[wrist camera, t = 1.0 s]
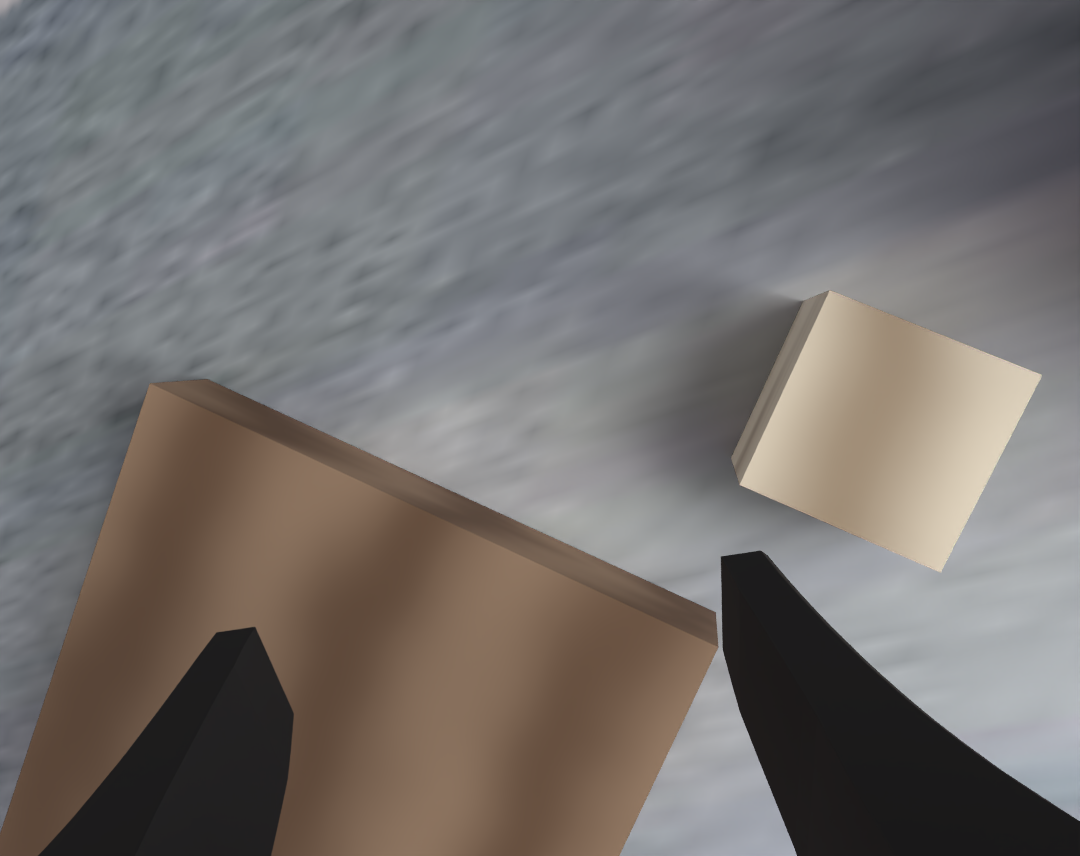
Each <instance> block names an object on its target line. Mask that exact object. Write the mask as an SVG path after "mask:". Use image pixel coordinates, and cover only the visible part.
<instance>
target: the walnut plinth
mask: <svg viewBox="0 0 1080 856" xmlns="http://www.w3.org/2000/svg"><path fill="white" fill-rule="evenodd" d="M249 627H256V630H257V632H258V634H259V636H260V638H261V641H262V643H263V645H264V647H265V650H266V652H267V654H268V656H269V659H270V661H271V663H272V665H273V668H274V670H275V672H276V674H277V677H278V679H279V681H280V683H281V686H282V688H283V690H284V692H285V695H286V697H287V699H288V701H289V704H290V706H291V708H292V710H293V713H294V719H293V732H292V744H291V755H290V764H289V773H288V781H287V786H286V790H285V795H284V800H283V804H282V809H281V814H280V818H279V823H278V827H277V832H276V837H275V841H274V845H273V850H272V854H271V856H619V855H620V853H621V851H622V849H623V846H624V844H625V842H626V840H627V838H628V836H629V834H630V832H631V830H632V828H633V825H634V823H635V821H636V819H637V817H638V815H639V813H640V811H641V809H642V807H643V804H644V802H645V800H646V798H647V796H648V794H649V792H650V790H651V788H652V786H653V783H654V781H655V779H656V777H657V775H658V773H659V771H660V769H661V767H662V765H663V762H664V760H665V758H666V756H667V754H668V752H669V750H670V748H671V746H672V743H673V741H674V739H675V737H676V735H677V733H678V731H679V729H680V727H681V725H682V722H683V720H684V718H685V716H686V714H687V712H688V710H689V708H690V706H691V704H692V701H693V699H694V697H695V695H696V693H697V691H698V689H699V687H700V685H701V683H702V680H703V678H704V676H705V674H706V672H707V670H708V668H709V666H710V664H711V662H712V659H713V657H714V655H715V653H716V651H717V649H718V637H717V624H716V612H713V611H711V610H709V609H707V608H705V607H703V606H700V605H698V604H696V603H694V602H692V601H689V600H687V599H685V598H683V597H681V596H679V595H676V594H674V593H672V592H670V591H668V590H666V589H663V588H661V587H659V586H657V585H655V584H652V583H650V582H648V581H646V580H644V579H642V578H639V577H637V576H635V575H633V574H631V573H628V572H626V571H624V570H622V569H620V568H618V567H615V566H613V565H611V564H609V563H607V562H604V561H602V560H600V559H598V558H596V557H594V556H591V555H589V554H587V553H585V552H583V551H580V550H578V549H576V548H574V547H572V546H570V545H567V544H565V543H563V542H561V541H559V540H557V539H554V538H552V537H550V536H548V535H546V534H543V533H541V532H539V531H537V530H535V529H533V528H530V527H528V526H526V525H524V524H522V523H519V522H517V521H515V520H513V519H511V518H509V517H506V516H504V515H502V514H500V513H498V512H495V511H493V510H491V509H489V508H487V507H485V506H482V505H480V504H478V503H476V502H474V501H472V500H469V499H467V498H465V497H463V496H461V495H458V494H456V493H454V492H452V491H450V490H448V489H445V488H443V487H441V486H439V485H437V484H434V483H432V482H430V481H428V480H426V479H424V478H421V477H419V476H417V475H415V474H413V473H410V472H408V471H406V470H404V469H402V468H400V467H397V466H395V465H393V464H391V463H389V462H387V461H384V460H382V459H380V458H378V457H376V456H373V455H371V454H369V453H367V452H365V451H363V450H360V449H358V448H356V447H354V446H352V445H349V444H347V443H345V442H343V441H341V440H339V439H336V438H334V437H332V436H330V435H328V434H325V433H323V432H321V431H319V430H317V429H315V428H312V427H310V426H308V425H306V424H304V423H302V422H299V421H297V420H295V419H293V418H291V417H288V416H286V415H284V414H282V413H280V412H278V411H275V410H273V409H271V408H269V407H267V406H264V405H262V404H260V403H258V402H256V401H254V400H251V399H249V398H247V397H245V396H243V395H240V394H238V393H236V392H234V391H232V390H230V389H227V388H225V387H223V386H221V385H219V384H217V383H214V382H212V381H210V380H208V379H204V380H190V381H176V382H162V383H150V384H149V387H148V390H147V393H146V396H145V399H144V402H143V405H142V408H141V411H140V414H139V417H138V420H137V423H136V427H135V430H134V433H133V436H132V439H131V442H130V445H129V448H128V451H127V454H126V457H125V460H124V463H123V466H122V469H121V472H120V475H119V478H118V481H117V484H116V487H115V490H114V493H113V496H112V499H111V502H110V505H109V508H108V511H107V514H106V517H105V520H104V523H103V526H102V529H101V532H100V535H99V538H98V541H97V544H96V547H95V550H94V553H93V556H92V559H91V562H90V565H89V568H88V571H87V574H86V577H85V580H84V583H83V586H82V589H81V592H80V595H79V598H78V601H77V604H76V607H75V610H74V613H73V616H72V619H71V622H70V625H69V628H68V631H67V634H66V637H65V640H64V643H63V646H62V649H61V652H60V655H59V658H58V661H57V664H56V667H55V670H54V673H53V676H52V679H51V682H50V685H49V688H48V691H47V694H46V697H45V700H44V703H43V706H42V709H41V712H40V715H39V718H38V721H37V724H36V727H35V730H34V733H33V736H32V739H31V742H30V745H29V748H28V751H27V754H26V757H25V760H24V763H23V766H22V769H21V772H20V775H19V778H18V781H17V784H16V787H15V790H14V793H13V797H12V800H11V803H10V806H9V809H8V812H7V815H6V818H5V821H4V824H3V827H2V830H1V833H0V856H38V855H39V854H40V853H41V852H42V851H43V850H44V849H45V848H46V847H47V846H48V844H49V843H50V842H51V841H52V840H53V839H54V838H55V837H56V836H57V835H58V833H59V832H60V831H61V830H62V829H63V828H64V827H65V826H66V825H67V823H68V822H69V821H70V820H71V819H72V818H73V817H74V815H75V814H76V813H77V812H78V811H79V810H80V808H81V807H82V806H83V805H84V804H85V802H86V801H87V800H88V799H89V798H90V796H91V795H92V794H93V793H94V792H95V790H96V789H97V788H98V787H99V785H100V784H101V783H102V782H103V781H104V779H105V778H106V777H107V776H108V775H109V773H110V772H111V771H112V770H113V769H114V767H115V766H116V765H117V764H118V762H119V761H120V760H121V759H122V757H123V756H124V755H125V753H126V752H127V751H128V750H129V748H130V747H131V746H132V744H133V743H134V742H135V740H136V739H137V738H138V736H139V735H140V734H141V733H142V731H143V730H144V729H145V727H146V726H147V725H148V723H149V722H150V721H151V719H152V718H153V717H154V716H155V714H156V713H157V712H158V710H159V709H160V708H161V706H162V705H163V703H164V702H165V701H166V699H167V698H168V697H169V695H170V694H171V693H172V691H173V690H174V689H175V687H176V686H177V684H178V683H179V682H180V680H181V679H182V678H183V676H184V675H185V674H186V672H187V671H188V669H189V668H190V667H191V665H192V664H193V663H194V661H195V660H196V659H197V657H198V656H199V654H200V653H201V652H202V650H203V649H204V648H205V647H206V645H207V644H208V643H209V641H210V640H211V639H212V637H213V636H214V635H215V633H216V632H223V631H229V630H236V629H243V628H249Z"/></svg>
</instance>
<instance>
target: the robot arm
mask: <svg viewBox="0 0 1080 856" xmlns="http://www.w3.org/2000/svg"><path fill="white" fill-rule="evenodd" d="M721 582H722V633H723V652H724V656H725V660H726V663H727V667H728V671H729V674H730V678H731V682H732V685H733V689H734V693H735V696H736V700H737V703H738V707H739V710H740V713H741V716H742V718H743V721H744V723H745V726H746V728H747V731H748V733H749V736H750V739H751V741H752V744H753V746H754V749H755V751H756V754H757V756H758V759H759V761H760V764H761V766H762V769H763V771H764V774H765V776H766V779H767V781H768V784H769V786H770V788H771V791H772V793H773V796H774V798H775V801H776V803H777V806H778V808H779V811H780V813H781V816H782V818H783V821H784V823H785V826H786V828H787V831H788V833H789V836H790V838H791V841H792V843H793V846H794V848H795V851H796V854H797V856H1080V821H1078V820H1077V819H1075V818H1074V817H1072V816H1070V815H1069V814H1067V813H1066V812H1064V811H1063V810H1061V809H1060V808H1058V807H1057V806H1055V805H1054V804H1052V803H1051V802H1049V801H1048V800H1046V799H1044V798H1043V797H1041V796H1040V795H1038V794H1037V793H1035V792H1034V791H1032V790H1031V789H1029V788H1028V787H1026V786H1025V785H1023V784H1021V783H1020V782H1018V781H1017V780H1015V779H1014V778H1012V777H1011V776H1009V775H1008V774H1006V773H1005V772H1003V771H1002V770H1000V769H999V768H998V767H996V766H995V765H993V764H992V763H991V762H989V761H988V760H987V759H985V758H984V757H982V756H981V755H980V754H978V753H977V752H976V751H974V750H973V749H971V748H970V747H969V746H967V745H966V744H965V743H963V742H962V741H961V740H959V739H958V738H957V737H956V736H954V735H953V734H952V733H950V732H949V731H948V730H947V729H945V728H944V727H943V726H941V725H940V724H939V723H937V722H936V721H935V720H934V719H932V718H931V717H930V716H929V715H928V714H926V713H925V712H924V711H923V710H921V709H920V708H919V707H918V706H917V705H916V704H914V703H913V702H912V701H911V700H910V699H908V698H907V697H906V696H905V695H904V694H903V693H901V692H900V691H899V690H898V689H897V688H896V687H895V686H894V685H892V684H891V683H890V682H889V681H888V680H887V679H886V678H885V677H883V676H882V675H881V674H880V673H879V672H878V671H877V670H876V669H875V668H874V667H872V666H871V665H870V664H869V663H868V662H867V661H866V660H865V659H864V658H863V657H862V656H861V655H860V654H859V653H858V652H857V651H856V650H855V649H854V648H853V647H852V646H851V645H850V644H849V643H848V642H847V641H845V640H844V639H843V638H842V637H841V636H840V635H839V634H838V633H837V632H836V631H835V630H834V629H833V628H832V627H831V626H830V625H829V624H828V623H827V622H826V620H825V619H824V618H823V617H822V616H821V615H820V614H819V613H818V612H817V611H816V610H815V609H814V608H813V607H812V606H811V605H810V604H809V602H808V601H807V600H806V599H805V598H804V597H803V596H802V595H801V594H800V593H799V592H798V590H797V589H796V588H795V587H794V586H793V585H792V584H791V583H790V581H789V580H788V579H787V578H786V577H785V576H784V574H783V573H782V572H781V571H780V570H779V569H778V567H777V566H776V565H775V564H774V563H773V561H772V560H771V559H770V558H769V557H768V555H766V554H765V553H763V552H762V551H755V552H748V553H742V554H735V555H729V556H722V557H721ZM293 719H294V713H293V710H292V708H291V706H290V704H289V701H288V699H287V697H286V695H285V692H284V690H283V688H282V686H281V683H280V681H279V679H278V677H277V674H276V672H275V670H274V668H273V665H272V663H271V661H270V659H269V656H268V654H267V652H266V650H265V647H264V645H263V643H262V641H261V638H260V636H259V634H258V632H257V630H256V627H249V628H243V629H236V630H229V631H223V632H216V633H215V635H214V636H213V637H212V639H211V640H210V641H209V643H208V644H207V645H206V647H205V648H204V649H203V650H202V652H201V653H200V654H199V656H198V657H197V659H196V660H195V661H194V663H193V664H192V665H191V667H190V668H189V669H188V671H187V672H186V674H185V675H184V676H183V678H182V679H181V680H180V682H179V683H178V684H177V686H176V687H175V689H174V690H173V691H172V693H171V694H170V695H169V697H168V698H167V699H166V701H165V702H164V703H163V705H162V706H161V708H160V709H159V710H158V712H157V713H156V714H155V716H154V717H153V718H152V719H151V721H150V722H149V723H148V725H147V726H146V727H145V729H144V730H143V731H142V733H141V734H140V735H139V736H138V738H137V739H136V740H135V742H134V743H133V744H132V746H131V747H130V748H129V750H128V751H127V752H126V753H125V755H124V756H123V757H122V759H121V760H120V761H119V762H118V764H117V765H116V766H115V767H114V769H113V770H112V771H111V772H110V773H109V775H108V776H107V777H106V778H105V779H104V781H103V782H102V783H101V784H100V785H99V787H98V788H97V789H96V790H95V792H94V793H93V794H92V795H91V796H90V798H89V799H88V800H87V801H86V802H85V804H84V805H83V806H82V807H81V808H80V810H79V811H78V812H77V813H76V814H75V815H74V817H73V818H72V819H71V820H70V821H69V822H68V823H67V825H66V826H65V827H64V828H63V829H62V830H61V831H60V832H59V833H58V835H57V836H56V837H55V838H54V839H53V840H52V841H51V842H50V843H49V844H48V846H47V847H46V848H45V849H44V850H43V851H42V852H41V853H40V854H39V855H38V856H271V854H272V850H273V845H274V841H275V837H276V832H277V827H278V823H279V818H280V814H281V809H282V804H283V800H284V795H285V790H286V786H287V781H288V773H289V764H290V755H291V744H292V732H293Z"/></svg>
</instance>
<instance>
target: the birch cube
mask: <svg viewBox="0 0 1080 856" xmlns="http://www.w3.org/2000/svg"><path fill="white" fill-rule="evenodd" d="M1041 377H1042V375H1041V374H1038V373H1036V372H1033V371H1031V370H1028V369H1026V368H1023V367H1021V366H1018V365H1016V364H1013V363H1011V362H1008V361H1006V360H1003V359H1001V358H998V357H996V356H993V355H991V354H988V353H986V352H983V351H981V350H978V349H976V348H973V347H971V346H968V345H966V344H963V343H961V342H958V341H956V340H953V339H951V338H948V337H946V336H943V335H941V334H938V333H936V332H933V331H931V330H928V329H926V328H923V327H921V326H918V325H916V324H913V323H911V322H908V321H906V320H903V319H901V318H898V317H896V316H893V315H891V314H888V313H886V312H883V311H881V310H878V309H876V308H873V307H871V306H868V305H866V304H863V303H861V302H858V301H856V300H853V299H851V298H848V297H846V296H843V295H841V294H838V293H836V292H833V291H831V290H829V291H827V292H824V293H822V294H819V295H817V296H814V297H812V298H809V299H807V300H804V301H803V303H802V305H801V307H800V309H799V311H798V313H797V316H796V318H795V320H794V322H793V324H792V326H791V329H790V331H789V333H788V335H787V337H786V339H785V342H784V344H783V346H782V348H781V350H780V353H779V355H778V357H777V359H776V361H775V363H774V366H773V368H772V370H771V372H770V374H769V376H768V379H767V381H766V383H765V385H764V387H763V390H762V392H761V394H760V396H759V398H758V400H757V403H756V405H755V407H754V409H753V411H752V413H751V416H750V418H749V420H748V422H747V424H746V427H745V429H744V431H743V433H742V435H741V437H740V440H739V442H738V444H737V446H736V448H735V450H734V453H733V455H732V457H731V460H732V463H733V466H734V469H735V472H736V475H737V478H738V482H739V485H741V486H743V487H746V488H748V489H750V490H752V491H755V492H757V493H759V494H762V495H764V496H766V497H768V498H771V499H773V500H775V501H778V502H780V503H782V504H784V505H787V506H789V507H791V508H794V509H796V510H798V511H800V512H803V513H805V514H807V515H810V516H812V517H814V518H817V519H819V520H821V521H823V522H826V523H828V524H830V525H833V526H835V527H837V528H839V529H842V530H844V531H846V532H849V533H851V534H853V535H855V536H858V537H860V538H862V539H865V540H867V541H869V542H871V543H874V544H876V545H878V546H881V547H883V548H885V549H888V550H890V551H892V552H894V553H897V554H899V555H901V556H904V557H906V558H908V559H910V560H913V561H915V562H917V563H920V564H922V565H924V566H926V567H929V568H931V569H933V570H936V571H938V572H940V573H941V571H942V569H943V567H944V565H945V563H946V561H947V559H948V557H949V555H950V553H951V551H952V549H953V547H954V546H955V544H956V542H957V540H958V538H959V536H960V534H961V532H962V530H963V528H964V526H965V524H966V522H967V520H968V518H969V516H970V515H971V513H972V511H973V509H974V507H975V505H976V503H977V501H978V499H979V497H980V495H981V493H982V491H983V489H984V487H985V485H986V483H987V482H988V480H989V478H990V476H991V474H992V472H993V470H994V468H995V466H996V464H997V462H998V460H999V458H1000V456H1001V454H1002V452H1003V451H1004V449H1005V447H1006V445H1007V443H1008V441H1009V439H1010V437H1011V435H1012V433H1013V431H1014V429H1015V427H1016V425H1017V423H1018V421H1019V419H1020V418H1021V416H1022V414H1023V412H1024V410H1025V408H1026V406H1027V404H1028V402H1029V400H1030V398H1031V396H1032V394H1033V392H1034V390H1035V388H1036V387H1037V385H1038V383H1039V381H1040V379H1041Z"/></svg>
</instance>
